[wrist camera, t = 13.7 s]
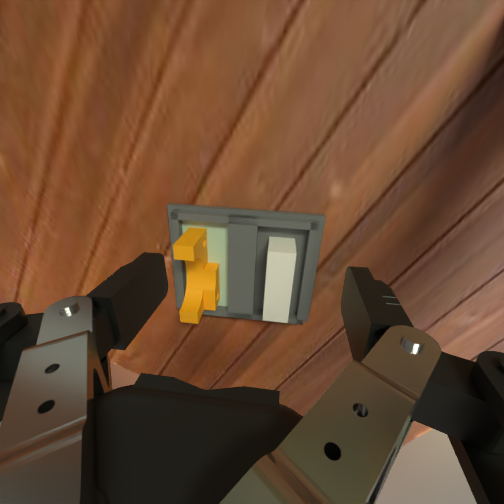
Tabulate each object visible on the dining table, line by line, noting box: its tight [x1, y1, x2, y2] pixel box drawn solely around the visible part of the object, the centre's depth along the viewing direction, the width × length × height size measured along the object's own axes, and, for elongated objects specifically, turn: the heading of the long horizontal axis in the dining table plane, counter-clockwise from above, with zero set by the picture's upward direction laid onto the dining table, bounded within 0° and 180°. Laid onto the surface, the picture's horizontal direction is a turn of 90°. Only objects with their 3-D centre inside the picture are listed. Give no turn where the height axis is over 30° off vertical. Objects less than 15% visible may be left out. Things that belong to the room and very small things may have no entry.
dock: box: [167, 203, 325, 325], centre depth 39 cm, size 22×18×6 cm
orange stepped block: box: [173, 227, 220, 324], centre depth 38 cm, size 12×4×6 cm, turn 178°
